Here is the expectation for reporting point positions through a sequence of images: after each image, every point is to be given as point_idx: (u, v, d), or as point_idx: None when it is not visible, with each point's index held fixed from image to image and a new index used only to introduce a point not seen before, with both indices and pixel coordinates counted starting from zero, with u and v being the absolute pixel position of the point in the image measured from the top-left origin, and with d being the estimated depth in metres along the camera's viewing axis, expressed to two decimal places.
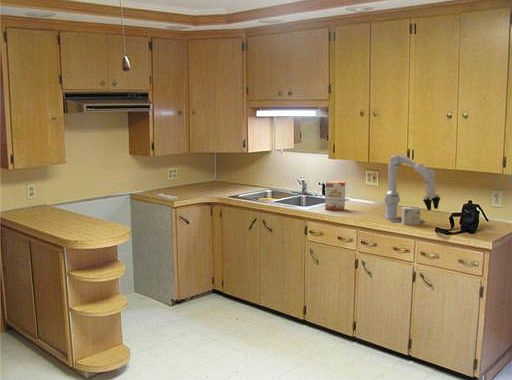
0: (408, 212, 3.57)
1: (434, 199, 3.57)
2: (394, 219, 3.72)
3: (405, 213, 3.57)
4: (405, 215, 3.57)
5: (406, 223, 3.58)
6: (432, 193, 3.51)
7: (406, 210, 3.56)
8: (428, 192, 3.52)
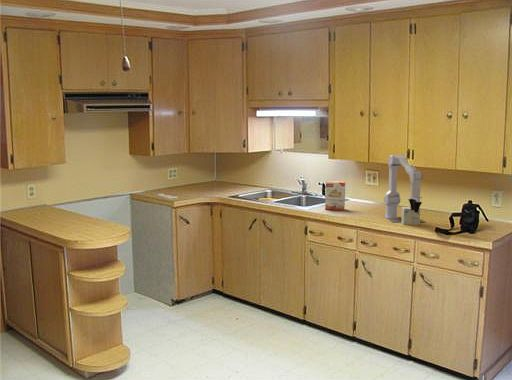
0: (408, 212, 3.56)
1: (412, 200, 3.54)
2: (394, 219, 3.72)
3: (405, 213, 3.57)
4: (405, 215, 3.57)
5: (406, 223, 3.58)
6: (419, 195, 3.48)
7: (406, 210, 3.56)
8: (416, 194, 3.47)
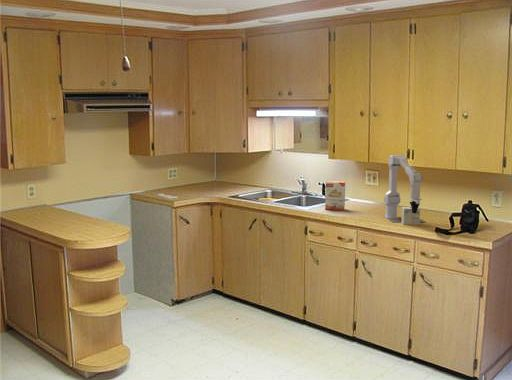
0: (408, 212, 3.56)
1: None
2: (394, 219, 3.72)
3: (405, 213, 3.57)
4: (405, 215, 3.57)
5: (406, 223, 3.58)
6: (419, 197, 3.49)
7: (406, 210, 3.56)
8: (416, 196, 3.47)
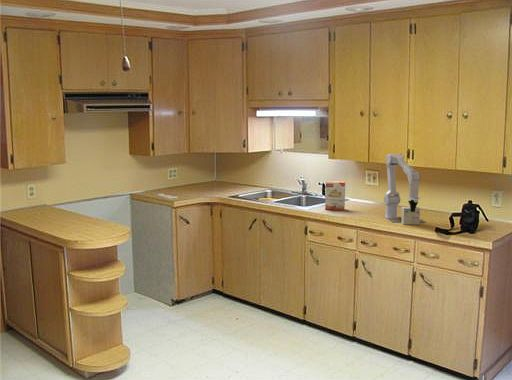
0: (408, 212, 3.57)
1: None
2: (394, 219, 3.72)
3: (405, 213, 3.57)
4: (405, 215, 3.57)
5: (406, 223, 3.58)
6: (417, 196, 3.52)
7: (406, 210, 3.57)
8: (414, 195, 3.51)
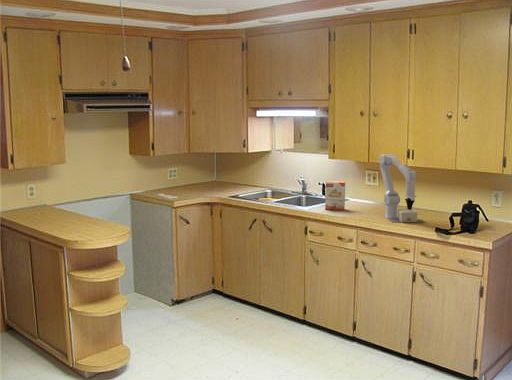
0: (402, 209, 3.71)
1: None
2: (394, 219, 3.72)
3: (399, 210, 3.71)
4: (400, 210, 3.69)
5: (403, 212, 3.64)
6: (414, 194, 3.60)
7: (400, 209, 3.73)
8: (411, 193, 3.59)
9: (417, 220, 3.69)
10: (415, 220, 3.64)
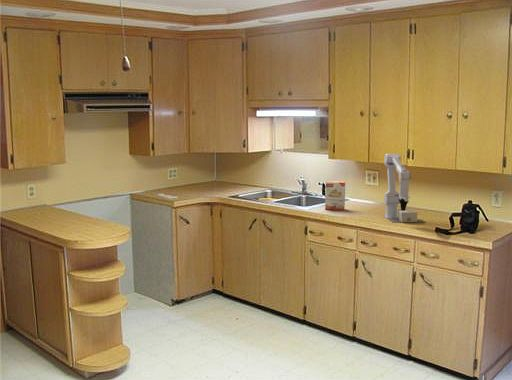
0: None
1: None
2: (394, 219, 3.72)
3: (399, 210, 3.71)
4: (400, 210, 3.69)
5: (403, 212, 3.64)
6: (407, 195, 3.54)
7: (400, 209, 3.73)
8: (404, 194, 3.53)
9: (417, 220, 3.69)
10: (415, 220, 3.64)
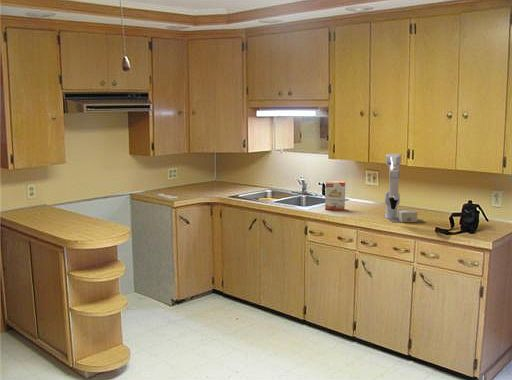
0: (402, 209, 3.71)
1: None
2: (394, 219, 3.72)
3: (399, 210, 3.71)
4: (400, 210, 3.69)
5: (403, 212, 3.64)
6: (397, 193, 3.55)
7: (400, 209, 3.73)
8: (394, 192, 3.54)
9: (417, 220, 3.69)
10: (415, 220, 3.64)
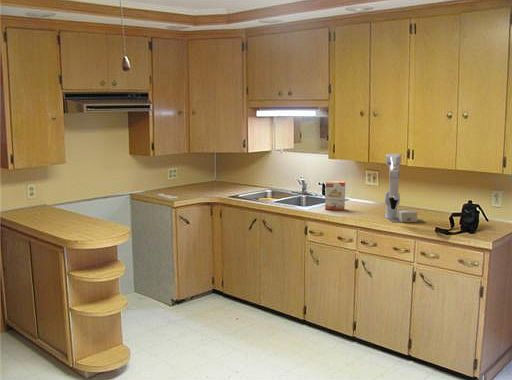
0: (402, 209, 3.71)
1: None
2: (394, 219, 3.72)
3: (399, 210, 3.71)
4: (400, 210, 3.69)
5: (403, 212, 3.64)
6: (397, 193, 3.55)
7: (400, 209, 3.73)
8: (394, 192, 3.54)
9: (417, 220, 3.69)
10: (415, 220, 3.64)
